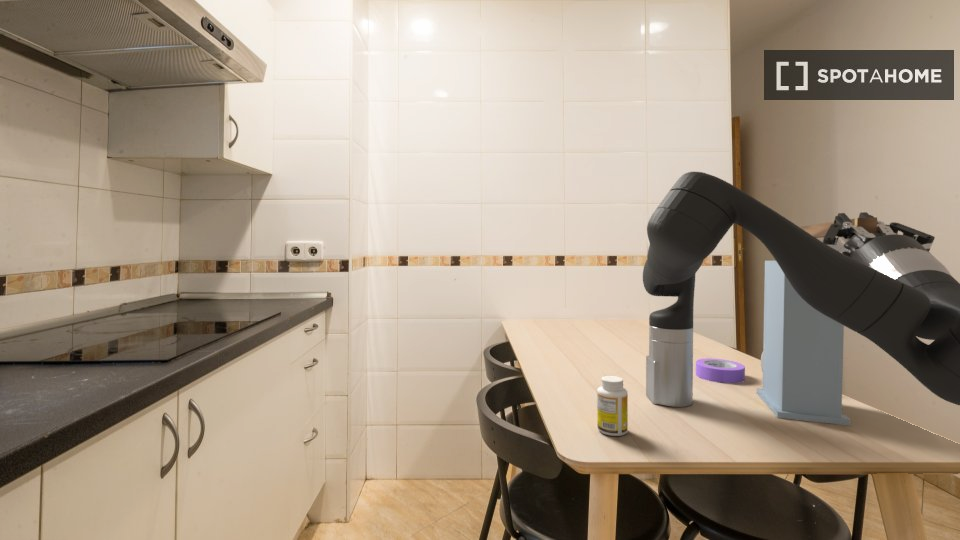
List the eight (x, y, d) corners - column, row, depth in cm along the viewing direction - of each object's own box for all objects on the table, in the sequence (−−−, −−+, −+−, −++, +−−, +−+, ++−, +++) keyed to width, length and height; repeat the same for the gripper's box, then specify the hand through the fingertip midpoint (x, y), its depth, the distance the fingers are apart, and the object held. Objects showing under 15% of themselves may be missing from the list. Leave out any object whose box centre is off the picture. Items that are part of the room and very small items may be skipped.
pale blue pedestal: (777, 417, 87) (780, 254, 86) (756, 393, 102) (758, 254, 101) (849, 425, 83) (854, 254, 82) (816, 398, 98) (820, 253, 97)
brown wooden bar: (857, 233, 66) (857, 217, 66) (800, 238, 89) (800, 226, 88) (876, 233, 65) (877, 217, 65) (814, 238, 88) (814, 226, 88)
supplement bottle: (620, 424, 84) (620, 373, 84) (632, 436, 79) (633, 382, 78) (592, 426, 84) (592, 375, 83) (603, 438, 78) (603, 383, 78)
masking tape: (754, 384, 110) (754, 369, 110) (709, 384, 110) (709, 369, 110) (729, 371, 122) (729, 358, 121) (688, 371, 122) (688, 358, 122)
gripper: (982, 248, 53) (911, 194, 67) (844, 250, 58) (804, 199, 71) (959, 297, 57) (895, 236, 70) (831, 295, 61) (795, 238, 75)
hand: (850, 218), depth 71 cm, fingers closed on brown wooden bar, 2 cm apart
